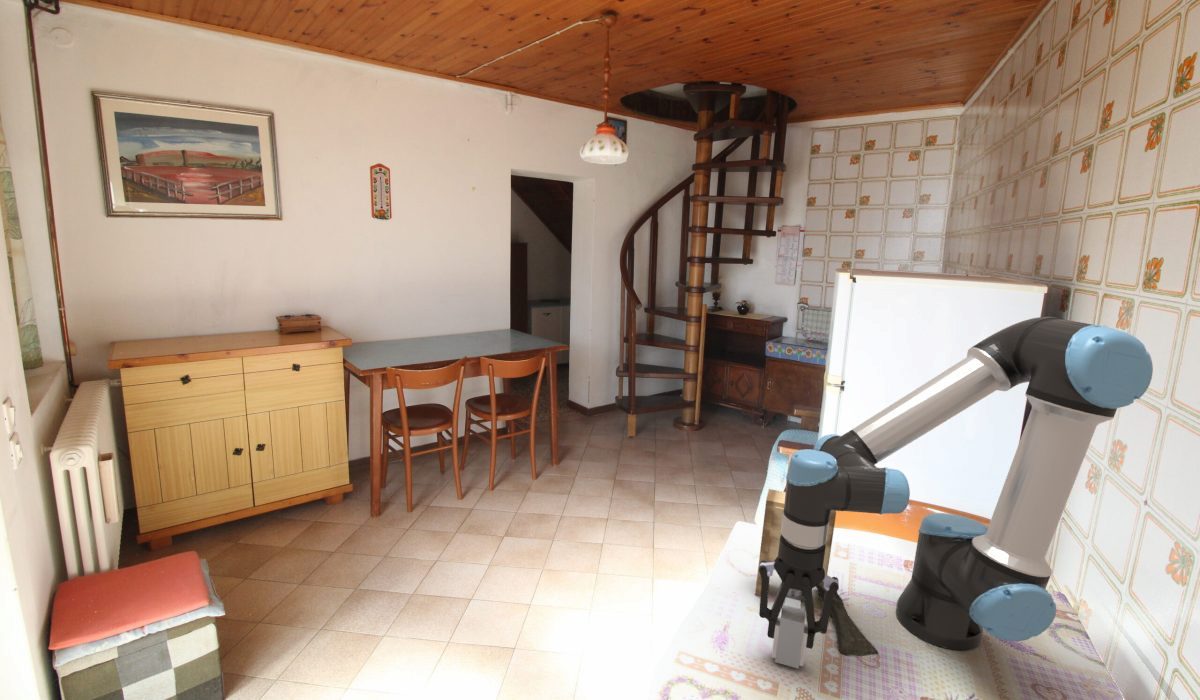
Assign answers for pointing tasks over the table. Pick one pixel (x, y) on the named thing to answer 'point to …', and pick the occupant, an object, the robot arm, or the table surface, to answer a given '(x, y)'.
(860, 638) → the tool
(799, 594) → the grey short cylinder
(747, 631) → the table surface
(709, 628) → the table surface
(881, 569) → the table surface
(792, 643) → the gray stepped block
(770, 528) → the wall cabinet
